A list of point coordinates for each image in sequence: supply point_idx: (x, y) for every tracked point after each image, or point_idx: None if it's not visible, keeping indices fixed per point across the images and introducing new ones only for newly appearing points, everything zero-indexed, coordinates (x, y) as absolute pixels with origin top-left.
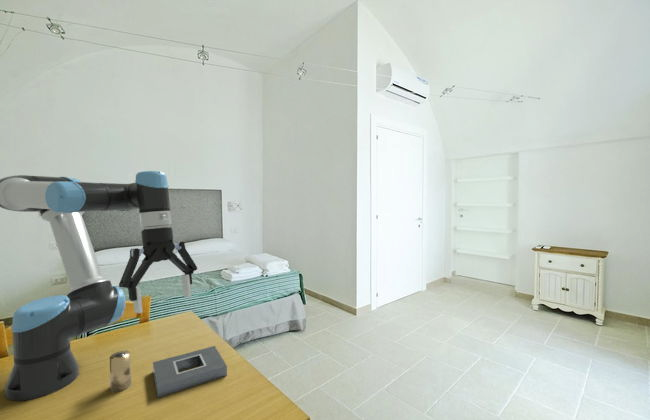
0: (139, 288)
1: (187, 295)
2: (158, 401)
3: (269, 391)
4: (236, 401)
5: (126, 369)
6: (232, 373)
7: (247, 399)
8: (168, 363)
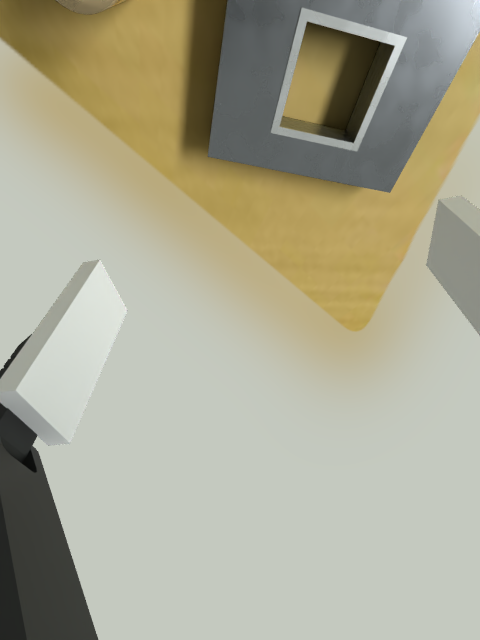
0: (69, 435)
1: (434, 256)
2: None
3: (382, 282)
4: (325, 268)
5: (118, 3)
6: None
7: (341, 275)
8: (283, 9)
